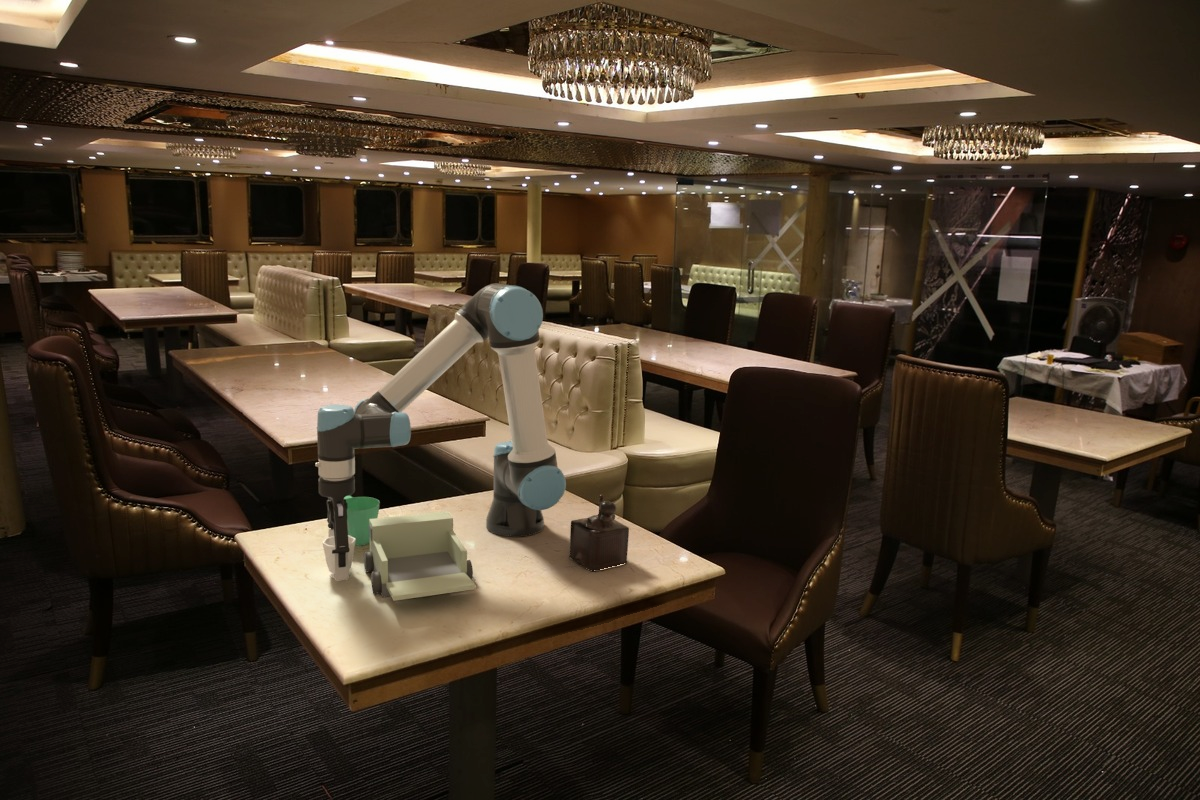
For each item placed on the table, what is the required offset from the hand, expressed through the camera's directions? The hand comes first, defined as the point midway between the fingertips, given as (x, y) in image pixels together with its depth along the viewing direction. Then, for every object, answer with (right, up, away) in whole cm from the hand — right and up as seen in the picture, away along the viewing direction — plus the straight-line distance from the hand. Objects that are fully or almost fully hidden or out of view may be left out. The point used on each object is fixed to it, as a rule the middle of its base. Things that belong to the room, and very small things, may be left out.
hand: (338, 567), depth 175 cm
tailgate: (+22, -1, -9) cm, 23 cm away
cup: (0, -1, 0) cm, 1 cm away
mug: (-2, +3, +20) cm, 20 cm away
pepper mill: (+59, -2, +10) cm, 60 cm away
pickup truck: (+18, -2, +1) cm, 18 cm away
